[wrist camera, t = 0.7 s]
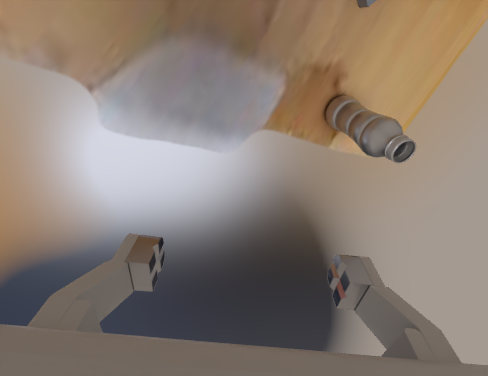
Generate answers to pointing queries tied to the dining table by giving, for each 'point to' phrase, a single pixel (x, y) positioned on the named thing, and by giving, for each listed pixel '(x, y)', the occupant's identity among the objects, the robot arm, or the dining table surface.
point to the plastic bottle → (370, 130)
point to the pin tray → (365, 3)
